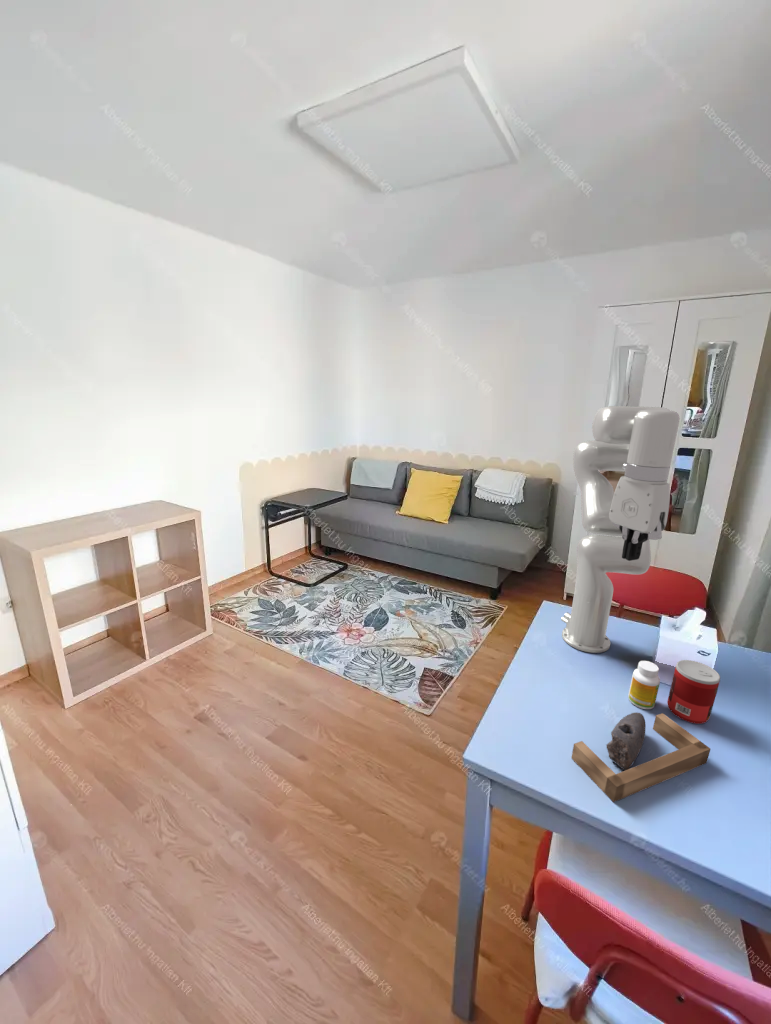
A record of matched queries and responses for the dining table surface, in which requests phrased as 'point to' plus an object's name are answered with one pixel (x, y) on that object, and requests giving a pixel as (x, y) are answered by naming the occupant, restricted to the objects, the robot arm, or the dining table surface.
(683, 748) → the bay
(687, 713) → the canned food
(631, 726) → the perforated stone tool
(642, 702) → the supplement bottle
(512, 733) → the dining table surface
